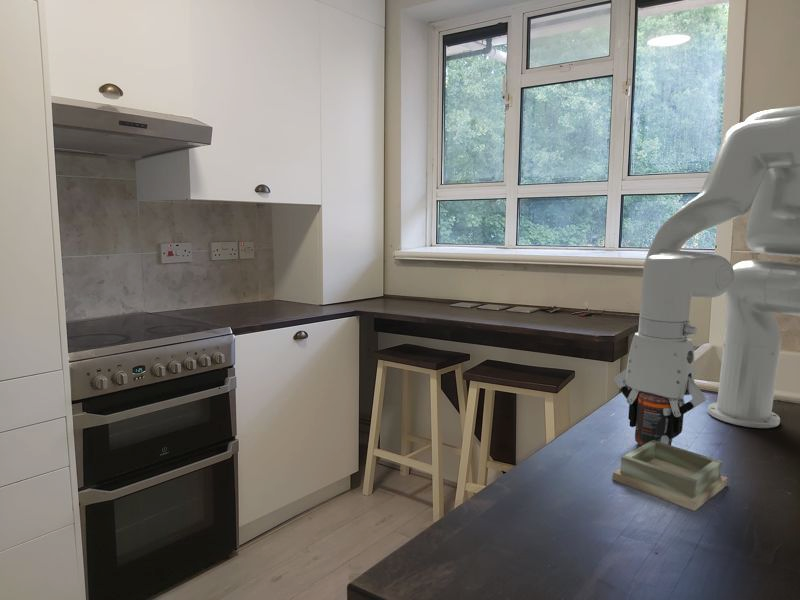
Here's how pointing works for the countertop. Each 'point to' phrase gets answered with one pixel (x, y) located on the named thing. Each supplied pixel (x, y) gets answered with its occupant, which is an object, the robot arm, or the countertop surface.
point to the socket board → (672, 474)
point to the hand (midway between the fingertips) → (654, 429)
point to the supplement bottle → (652, 419)
